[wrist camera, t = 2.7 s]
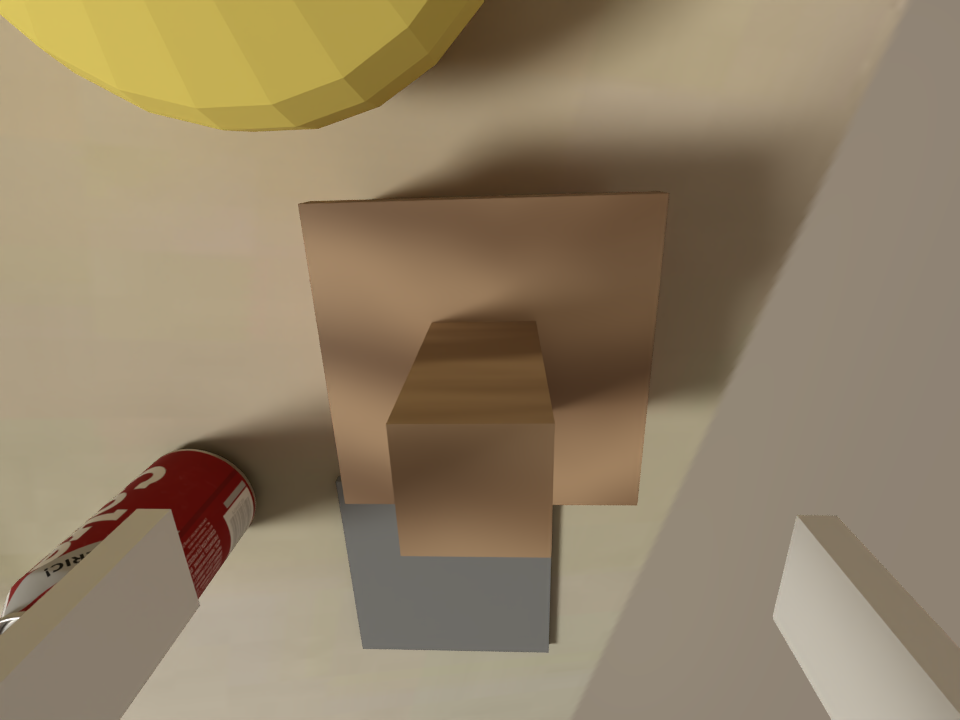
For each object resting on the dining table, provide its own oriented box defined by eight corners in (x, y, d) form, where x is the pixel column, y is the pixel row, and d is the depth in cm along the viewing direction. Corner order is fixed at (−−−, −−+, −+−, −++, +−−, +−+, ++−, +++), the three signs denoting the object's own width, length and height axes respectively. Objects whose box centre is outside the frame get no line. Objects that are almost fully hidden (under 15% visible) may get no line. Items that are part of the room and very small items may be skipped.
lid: (310, 201, 19) (153, 236, 11) (659, 191, 18) (791, 220, 10) (352, 487, 24) (268, 670, 15) (630, 488, 23) (703, 680, 15)
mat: (339, 476, 31) (335, 481, 30) (552, 476, 30) (553, 482, 30) (365, 641, 36) (362, 648, 36) (547, 644, 35) (548, 652, 35)
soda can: (275, 470, 31) (147, 644, 20) (244, 546, 33) (114, 740, 22) (168, 425, 30) (-28, 580, 19) (144, 506, 33) (-43, 687, 21)
